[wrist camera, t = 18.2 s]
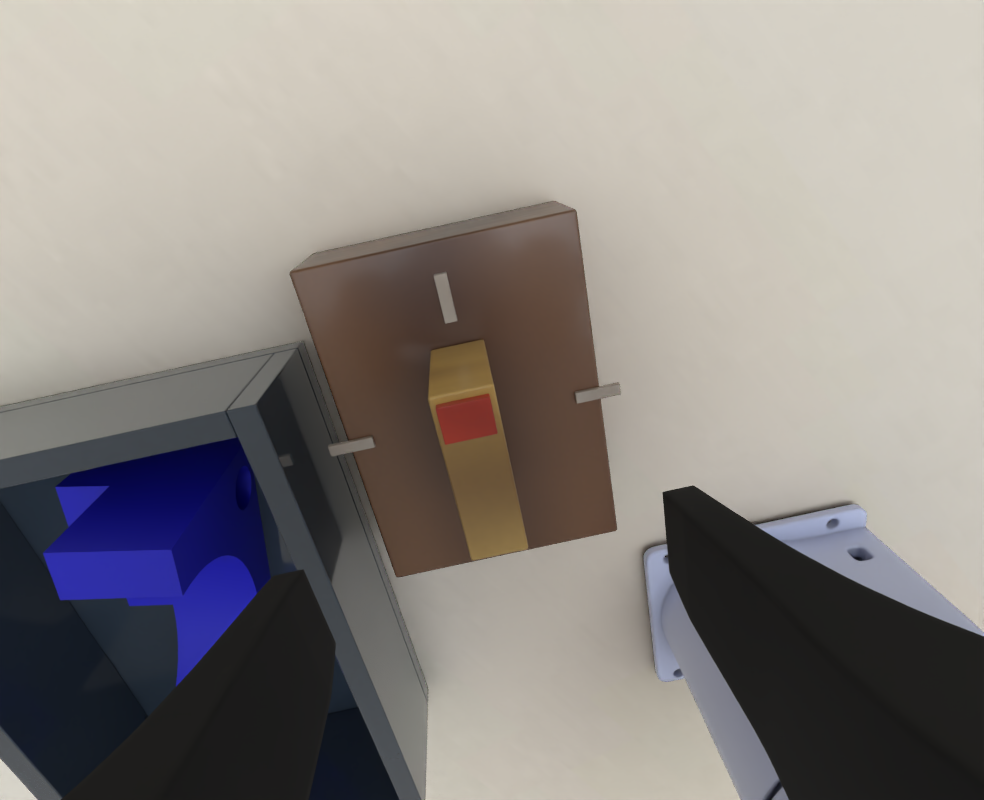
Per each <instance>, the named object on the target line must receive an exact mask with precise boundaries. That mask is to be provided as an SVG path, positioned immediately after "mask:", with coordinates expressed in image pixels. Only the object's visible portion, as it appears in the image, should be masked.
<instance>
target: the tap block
mask: <svg viewBox="0 0 984 800" xmlns="http://www.w3.org/2000/svg"><path fill="white" fill-rule="evenodd" d="M290 276H291V279H292V282H293V285H294V288H295V291H296V294H297V296H298V299H299V302H300V305H301V308H302V311H303V313H304V316H305V319H306V322H307V325H308V328H309V331H310V333H311V336H312V339H313V342H314V345H315V348H316V350H317V353H318V356H319V359H320V362H321V365H322V367H323V370H324V373H325V376H326V379H327V382H328V385H329V387H330V390H331V393H332V396H333V399H334V402H335V404H336V407H337V410H338V413H339V416H340V419H341V422H342V424H343V427H344V430H345V433H346V436H347V439H348V441H344V442H340V443H335V444H330V445H328V449H329V452H330V454H331V457H333V456H337V455H342V454H346V453H351V452H352V453H353V456H354V458H355V461H356V464H357V467H358V470H359V473H360V476H361V478H362V481H363V484H364V487H365V490H366V493H367V495H368V498H369V501H370V504H371V507H372V510H373V513H374V515H375V518H376V521H377V524H378V527H379V530H380V532H381V535H382V538H383V541H384V544H385V547H386V549H387V552H388V555H389V558H390V561H391V564H392V567H393V569H394V572H395V575H396V577H403V576H407V575H412V574H417V573H421V572H426V571H431V570H435V569H440V568H445V567H449V566H454V565H459V564H463V563H468V562H473V560H472V559H471V557H470V553H469V550H468V546H467V542H466V539H465V535H464V531H463V528H462V524H461V520H460V517H459V513H458V509H457V505H456V502H455V498H454V494H453V491H452V487H451V483H450V480H449V476H448V472H447V469H446V465H445V461H444V457H443V454H442V450H441V446H440V443H439V439H438V435H437V432H436V428H435V424H434V421H433V417H432V413H431V409H430V406H429V402H428V388H429V371H430V354H431V351H432V350H436V349H440V348H445V347H450V346H454V345H459V344H463V343H468V342H473V341H477V340H484V342H485V347H486V351H487V356H488V360H489V365H490V369H491V374H492V378H493V383H494V387H495V392H496V397H497V402H498V406H499V411H500V416H501V420H502V425H503V430H504V434H505V439H506V444H507V448H508V453H509V458H510V463H511V467H512V472H513V477H514V481H515V486H516V491H517V495H518V500H519V505H520V510H521V514H522V519H523V524H524V528H525V533H526V538H527V542H528V549H526V550H529V549H533V548H538V547H543V546H547V545H552V544H557V543H561V542H566V541H571V540H575V539H580V538H585V537H589V536H594V535H599V534H603V533H608V532H613V531H616V530H617V523H616V515H615V508H614V500H613V492H612V484H611V476H610V469H609V461H608V453H607V445H606V437H605V430H604V422H603V414H602V406H601V398H606V397H610V396H615V395H620V394H621V390H620V384H619V383H618V382H617V383H613V384H608V385H604V386H599V383H598V375H597V367H596V359H595V352H594V344H593V336H592V328H591V321H590V313H589V305H588V297H587V289H586V282H585V274H584V266H583V258H582V250H581V243H580V235H579V227H578V219H577V212H576V210H575V209H573V208H570V207H568V206H566V205H563V204H561V203H559V202H556V201H552V202H547V203H542V204H538V205H533V206H529V207H524V208H519V209H515V210H510V211H506V212H501V213H497V214H492V215H487V216H483V217H478V218H474V219H469V220H465V221H460V222H455V223H451V224H446V225H442V226H437V227H432V228H428V229H423V230H419V231H414V232H410V233H405V234H400V235H396V236H391V237H387V238H382V239H378V240H373V241H368V242H364V243H359V244H355V245H350V246H346V247H341V248H336V249H332V250H327V251H323V252H318V253H314V254H312V255H311V256H310V257H308V258H307V259H306V260H305V261H303V262H302V263H301V264H299V265H298V266H297V267H296V268H294V269H293V270H292V271H290ZM521 551H524V550H521ZM516 552H519V551H516ZM512 553H515V552H512ZM507 554H510V553H507ZM502 555H505V554H502ZM498 556H501V555H498ZM493 557H496V556H493ZM488 558H491V557H488ZM484 559H487V558H484ZM479 560H482V559H479ZM474 561H477V560H474Z"/></svg>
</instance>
